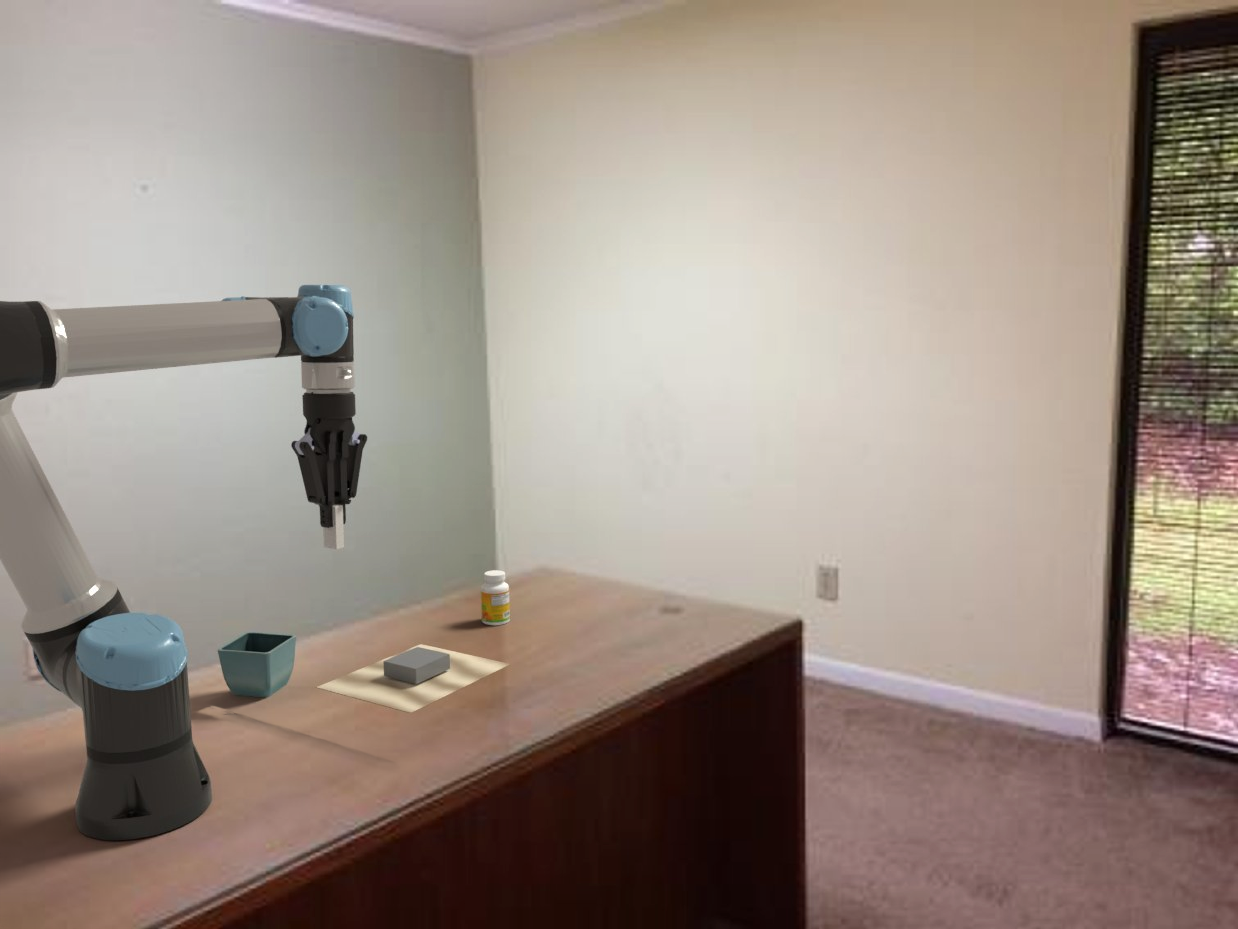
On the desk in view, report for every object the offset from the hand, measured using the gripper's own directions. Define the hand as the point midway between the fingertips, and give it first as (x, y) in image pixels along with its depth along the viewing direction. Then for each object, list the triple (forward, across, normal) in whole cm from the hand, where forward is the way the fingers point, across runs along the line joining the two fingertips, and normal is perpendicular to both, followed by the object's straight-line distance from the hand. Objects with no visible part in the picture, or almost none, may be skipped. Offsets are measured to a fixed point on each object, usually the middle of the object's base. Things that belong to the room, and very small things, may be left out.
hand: (334, 547), depth 156 cm
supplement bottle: (+24, +45, +5) cm, 51 cm away
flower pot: (+25, -4, +13) cm, 29 cm away
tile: (+22, +9, -4) cm, 24 cm away
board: (+25, +13, -4) cm, 28 cm away
